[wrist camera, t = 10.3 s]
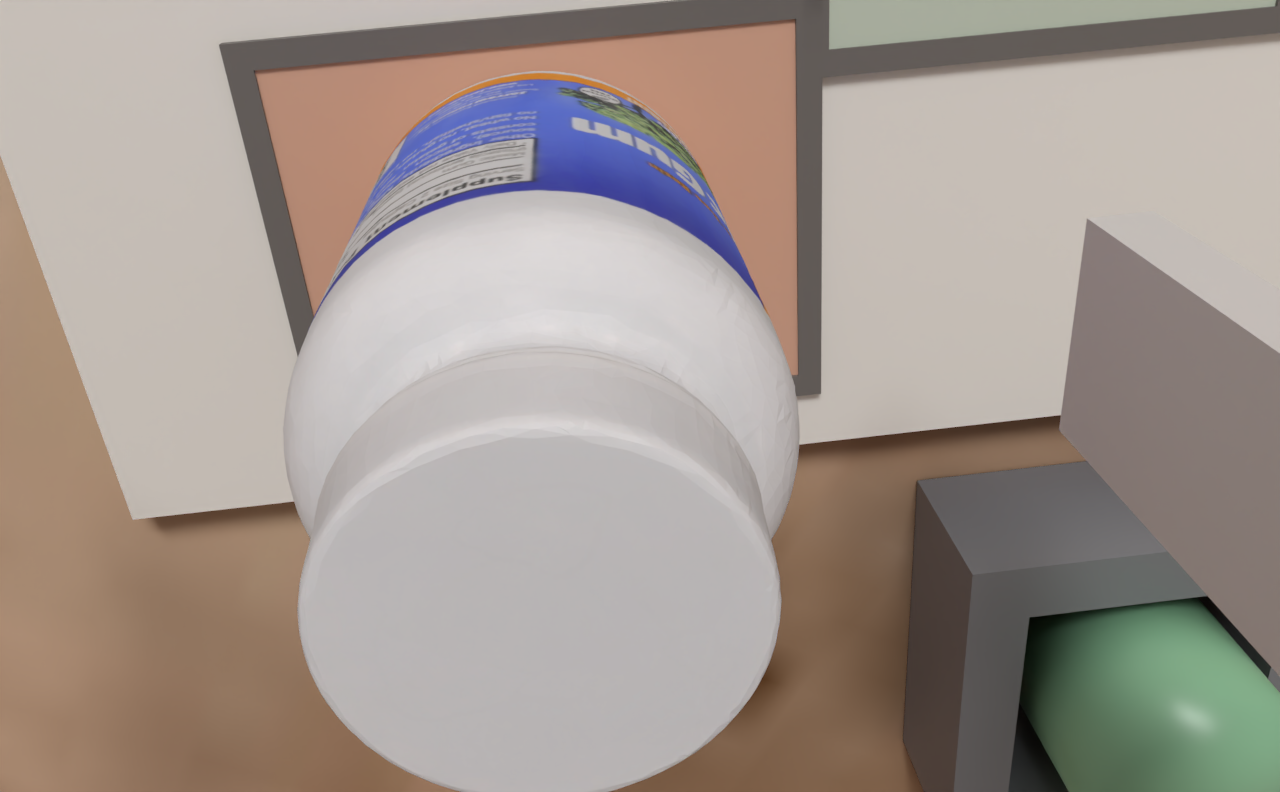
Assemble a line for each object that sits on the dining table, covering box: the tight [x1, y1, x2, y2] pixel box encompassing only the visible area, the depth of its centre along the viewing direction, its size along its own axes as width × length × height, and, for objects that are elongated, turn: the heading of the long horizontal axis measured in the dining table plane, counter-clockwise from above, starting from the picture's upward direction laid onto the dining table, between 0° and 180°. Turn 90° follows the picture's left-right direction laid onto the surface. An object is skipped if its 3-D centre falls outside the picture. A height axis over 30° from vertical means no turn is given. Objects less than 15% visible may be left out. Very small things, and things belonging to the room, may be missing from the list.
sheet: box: [0, 0, 1280, 520], centre depth 17 cm, size 22×14×1 cm, turn 95°
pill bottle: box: [283, 71, 800, 792], centre depth 13 cm, size 6×5×10 cm
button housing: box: [903, 461, 1280, 792], centre depth 22 cm, size 7×7×3 cm
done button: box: [1019, 597, 1280, 792], centre depth 20 cm, size 4×4×4 cm
